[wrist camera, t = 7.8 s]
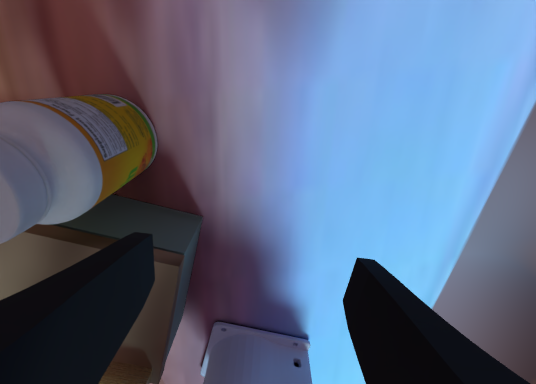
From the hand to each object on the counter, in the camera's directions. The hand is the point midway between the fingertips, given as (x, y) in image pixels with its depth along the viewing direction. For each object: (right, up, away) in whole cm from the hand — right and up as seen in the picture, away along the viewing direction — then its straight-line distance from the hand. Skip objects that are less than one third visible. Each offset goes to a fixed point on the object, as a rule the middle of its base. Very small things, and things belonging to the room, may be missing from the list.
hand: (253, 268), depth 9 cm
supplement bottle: (-10, +7, +8) cm, 14 cm away
